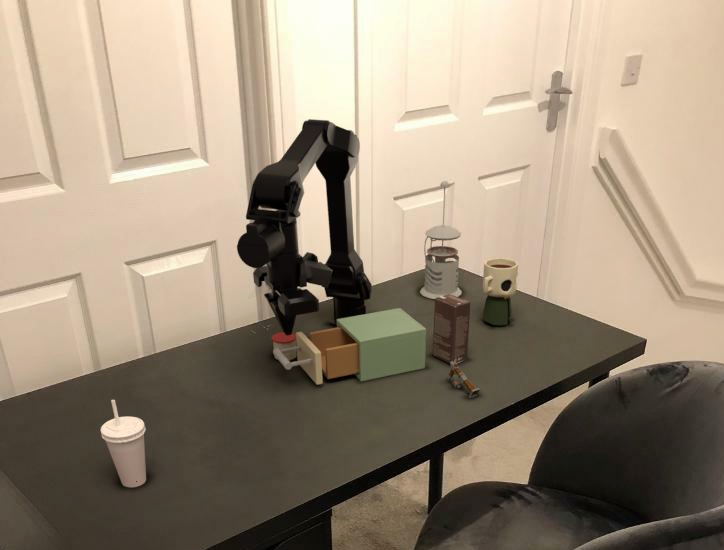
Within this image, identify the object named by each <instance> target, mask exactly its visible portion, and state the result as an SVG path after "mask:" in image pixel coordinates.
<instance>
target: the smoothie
mask: <svg viewBox="0 0 724 550" xmlns="http://www.w3.org/2000/svg"><path fill="white" fill-rule="evenodd" d="M110 401H111V407H112V412H113V415H114V417H113V418H112V419H109V420H107V421H106V422H105V423H103V424H102V426H101V427H100V434H101V438H102V439H103V440H104V441H105V443H106V446H107V448H108V451H109V453H110V456H111V460H112V461H113V464H114V467H115V468H116V472H117V475H118V477H119V480H120V483H121V485H122V486H123V487H126V488H137V487H140V486H142V485H144V484H145V483H146V482H147V468H146V449H145V433H146V425H145V422H144V421H143V420H142V419H141V418H139V417H136V416H127V415H126V416H119V413H118V408H117V403H116V400H115V399H110ZM136 481H137V482H136Z"/></svg>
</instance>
